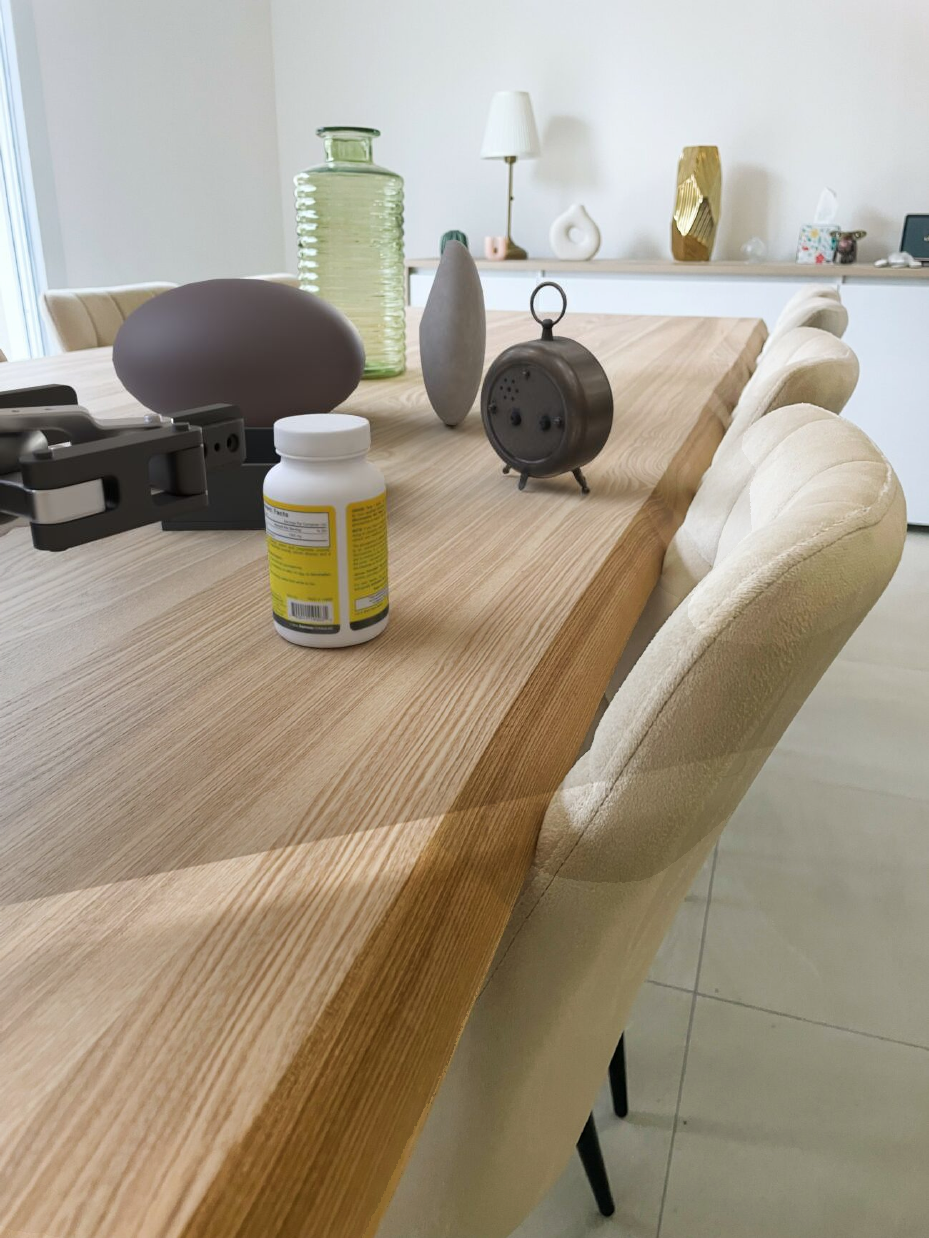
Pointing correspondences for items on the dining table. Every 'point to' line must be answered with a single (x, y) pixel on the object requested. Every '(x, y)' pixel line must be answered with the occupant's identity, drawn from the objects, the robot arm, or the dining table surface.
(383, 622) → the pill bottle
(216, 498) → the bin
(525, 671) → the dining table surface
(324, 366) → the smooth stone
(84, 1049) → the dining table surface
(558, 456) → the alarm clock
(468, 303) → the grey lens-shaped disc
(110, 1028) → the dining table surface
